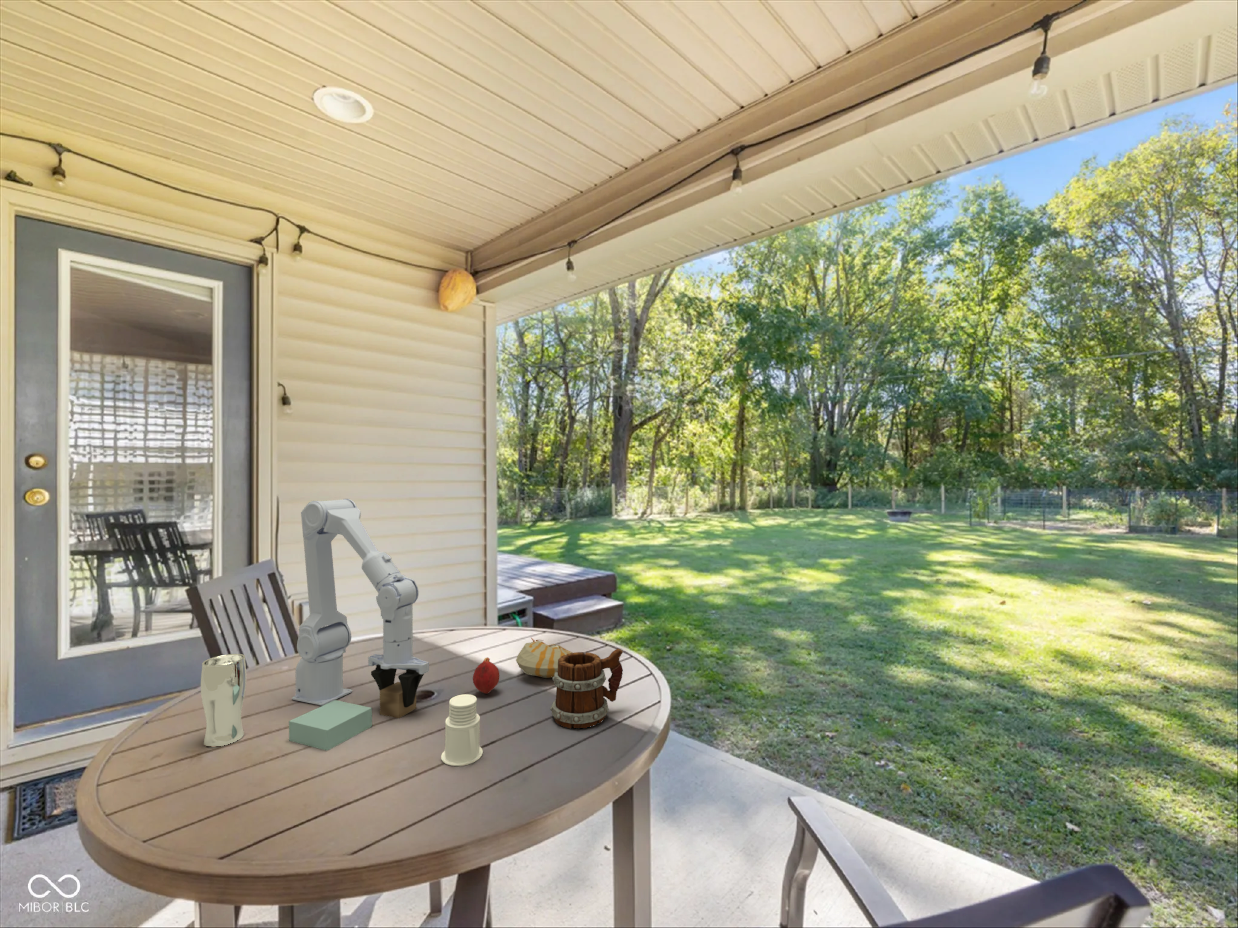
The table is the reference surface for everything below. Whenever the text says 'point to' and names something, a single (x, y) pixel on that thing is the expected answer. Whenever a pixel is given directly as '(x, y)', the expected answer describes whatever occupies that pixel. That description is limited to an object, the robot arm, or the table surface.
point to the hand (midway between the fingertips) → (398, 703)
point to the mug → (584, 688)
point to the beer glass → (223, 698)
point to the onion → (486, 676)
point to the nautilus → (540, 658)
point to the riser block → (330, 724)
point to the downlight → (462, 732)
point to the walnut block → (394, 701)
